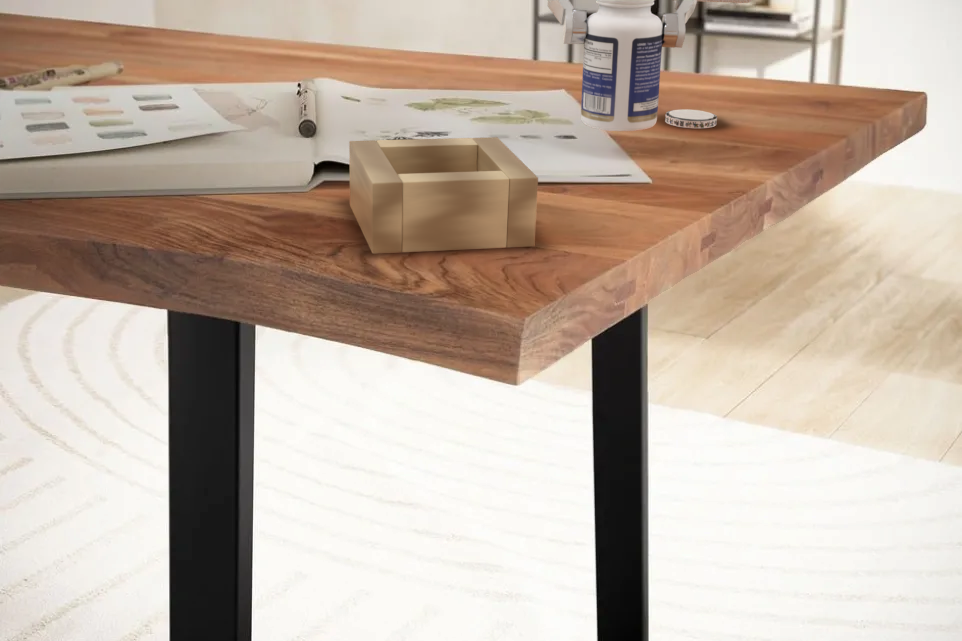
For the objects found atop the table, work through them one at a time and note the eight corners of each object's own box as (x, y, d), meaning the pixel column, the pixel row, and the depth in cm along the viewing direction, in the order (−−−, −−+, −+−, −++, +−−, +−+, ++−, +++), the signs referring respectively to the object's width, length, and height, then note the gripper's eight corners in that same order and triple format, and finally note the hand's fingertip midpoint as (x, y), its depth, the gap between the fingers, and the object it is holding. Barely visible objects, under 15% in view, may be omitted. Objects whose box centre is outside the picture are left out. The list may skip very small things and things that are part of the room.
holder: (372, 255, 65) (372, 182, 64) (349, 206, 74) (349, 140, 72) (534, 247, 67) (538, 177, 66) (495, 200, 76) (497, 137, 74)
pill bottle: (652, 116, 89) (662, -23, 86) (660, 133, 84) (671, -12, 81) (578, 114, 89) (584, -24, 86) (581, 132, 84) (589, -14, 81)
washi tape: (672, 114, 99) (673, 106, 99) (721, 120, 98) (722, 112, 97) (659, 124, 96) (659, 116, 95) (709, 130, 94) (710, 122, 94)
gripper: (478, -155, 86) (474, 7, 81) (767, -145, 87) (782, 17, 81) (476, -93, 92) (472, 62, 87) (747, -83, 92) (759, 72, 87)
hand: (624, 41), depth 84 cm, fingers closed on pill bottle, 5 cm apart
